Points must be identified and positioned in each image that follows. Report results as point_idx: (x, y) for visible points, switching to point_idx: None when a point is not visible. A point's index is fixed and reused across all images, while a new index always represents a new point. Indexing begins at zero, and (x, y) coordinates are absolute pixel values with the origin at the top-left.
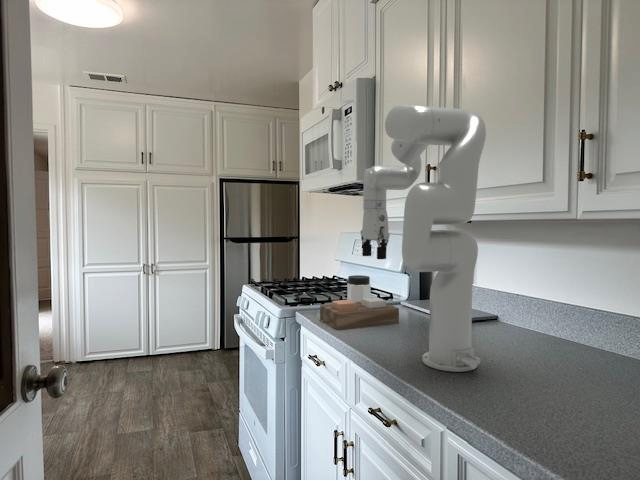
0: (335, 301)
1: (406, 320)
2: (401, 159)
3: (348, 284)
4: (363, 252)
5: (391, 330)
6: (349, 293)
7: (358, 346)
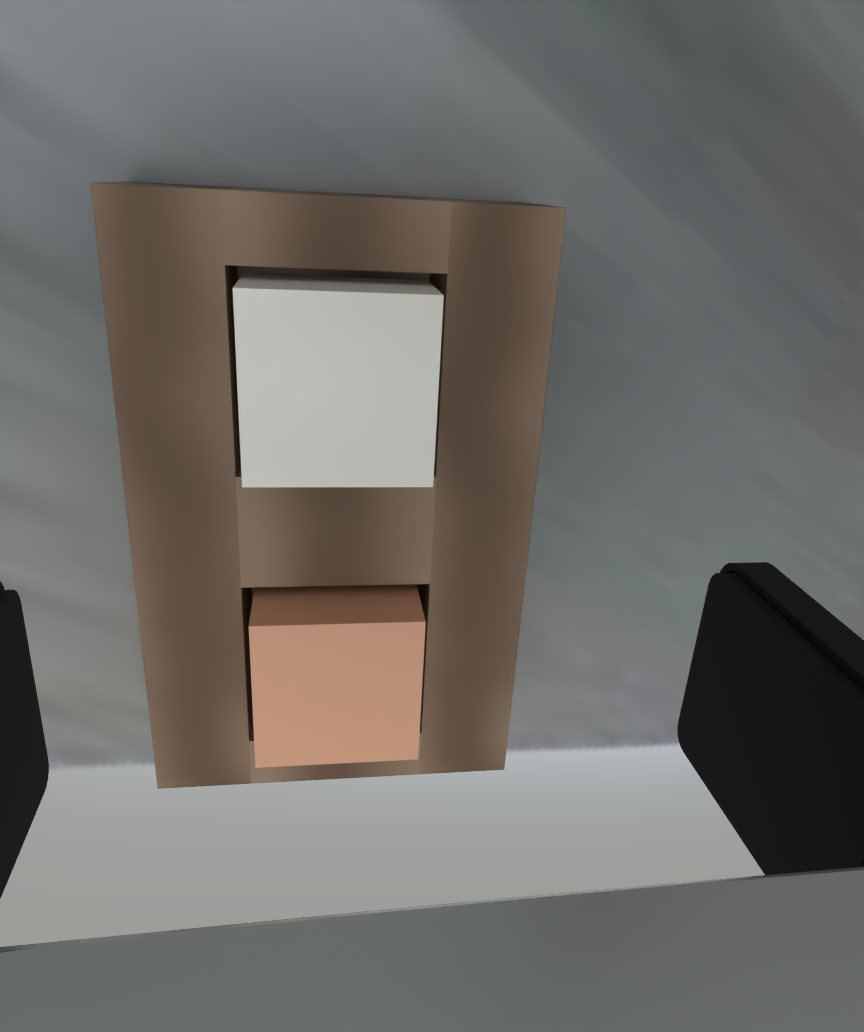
0: (289, 749)
1: (471, 53)
2: None
3: None
4: (4, 844)
5: (662, 389)
6: None
7: None
